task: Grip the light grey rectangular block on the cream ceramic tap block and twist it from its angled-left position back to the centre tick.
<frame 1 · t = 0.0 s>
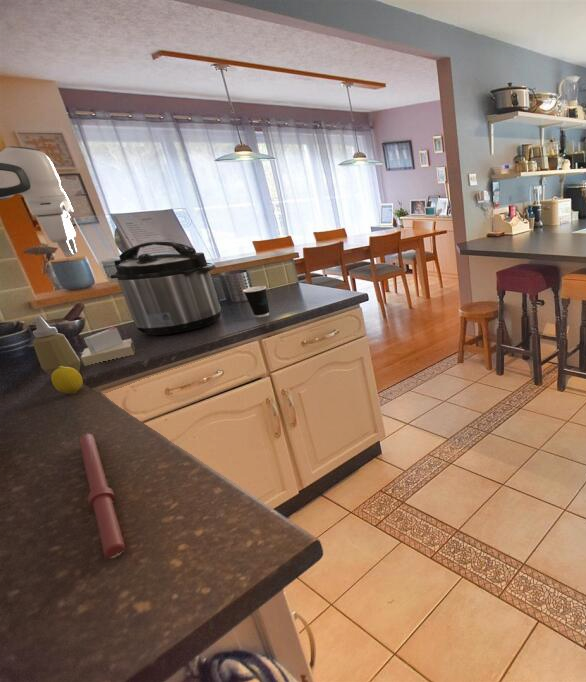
hand: (71, 254, 132), 32 cm above the worktop, tool pointing down, fingers open, 8 cm apart
lemon: (74, 394, 116), on the worktop
light grey rectangular block: (103, 339, 139), point 6 cm above the worktop, hinge at 45.0°
dixie cup: (262, 316, 172), on the worktop
pressure cooker: (185, 325, 168), on the worktop
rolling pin: (102, 492, 77), on the worktop
squeeze bottle: (66, 375, 128), on the worktop
tap block: (111, 356, 141), on the worktop
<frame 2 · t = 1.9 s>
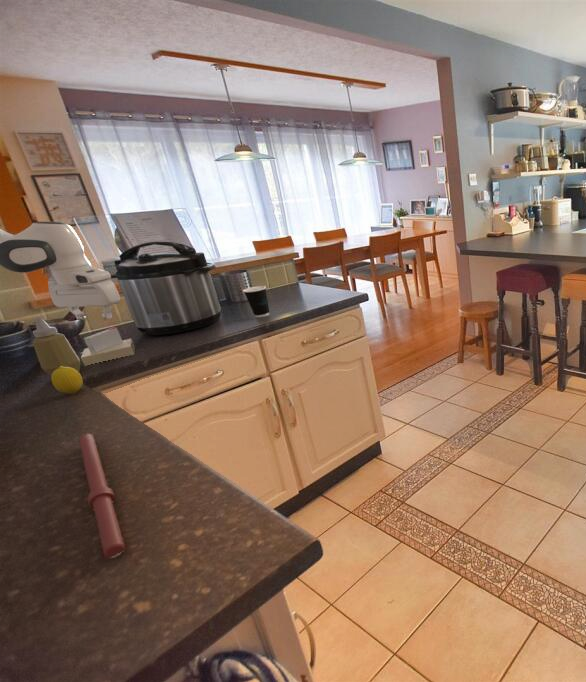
hand: (95, 319, 136), 13 cm above the worktop, tool pointing down, fingers open, 8 cm apart
nothing on the worktop moved.
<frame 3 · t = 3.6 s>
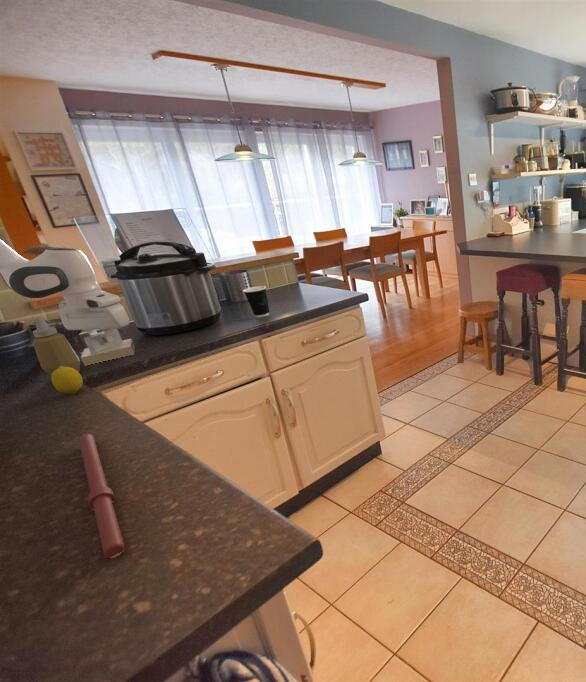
hand: (104, 341, 139), 5 cm above the worktop, tool pointing down, fingers closed on light grey rectangular block, 2 cm apart
light grey rectangular block: (103, 339, 139), point 6 cm above the worktop, hinge at 45.0°, touching gripper
everything else where it was.
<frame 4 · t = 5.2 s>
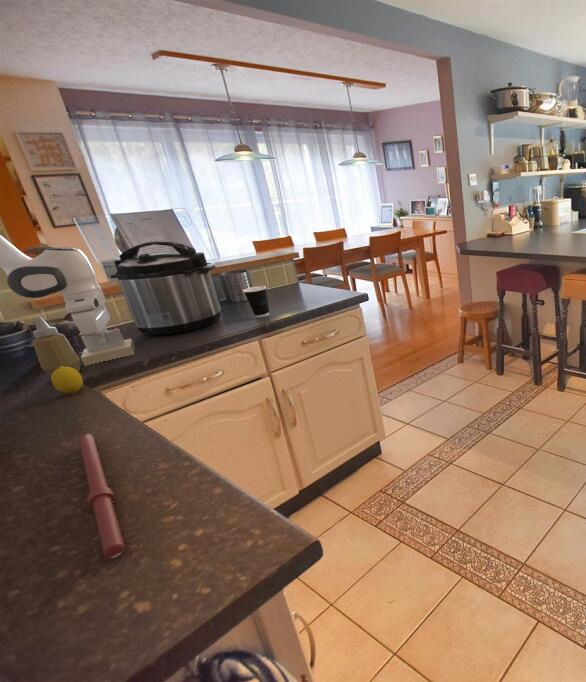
hand: (104, 341, 139), 5 cm above the worktop, tool pointing down, fingers closed on light grey rectangular block, 2 cm apart
light grey rectangular block: (103, 339, 139), point 6 cm above the worktop, hinge at -5.6°, touching gripper
everything else where it was.
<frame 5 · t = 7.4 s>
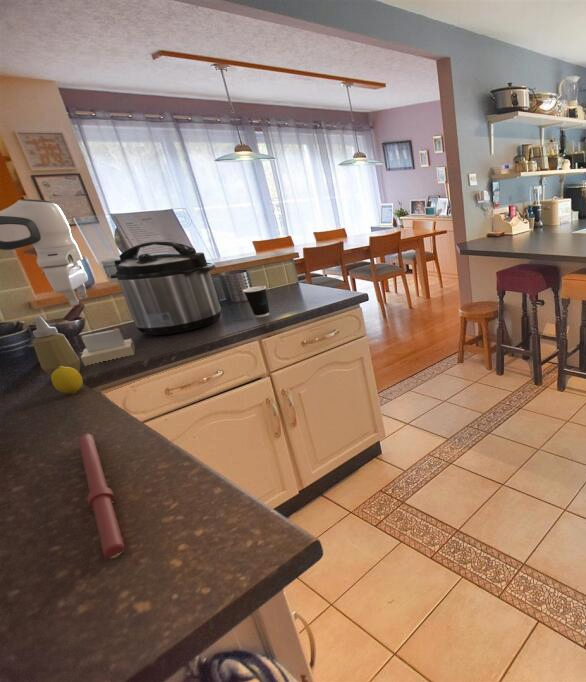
hand: (79, 301, 133), 19 cm above the worktop, tool pointing down, fingers open, 8 cm apart
light grey rectangular block: (103, 339, 139), point 6 cm above the worktop, hinge at -5.5°
everything else where it was.
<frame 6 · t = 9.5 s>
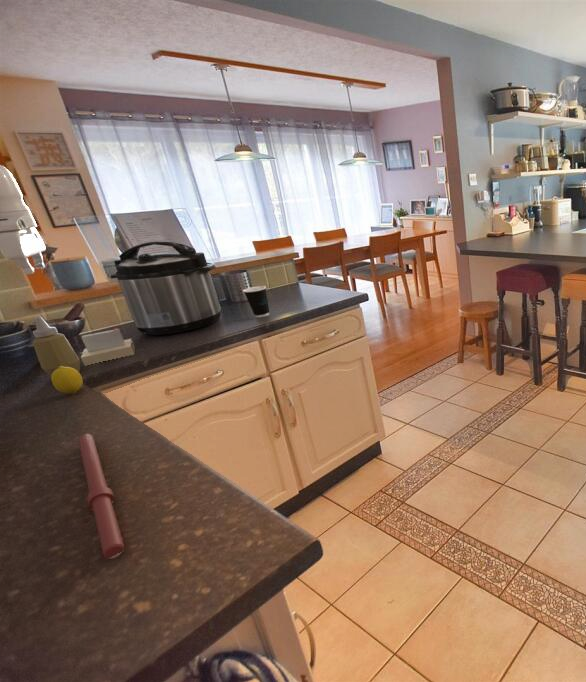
hand: (36, 271, 128), 29 cm above the worktop, tool pointing down, fingers open, 8 cm apart
nothing on the worktop moved.
at the end: light grey rectangular block at -6° (first picture: +45°); the gripper is holding nothing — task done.
